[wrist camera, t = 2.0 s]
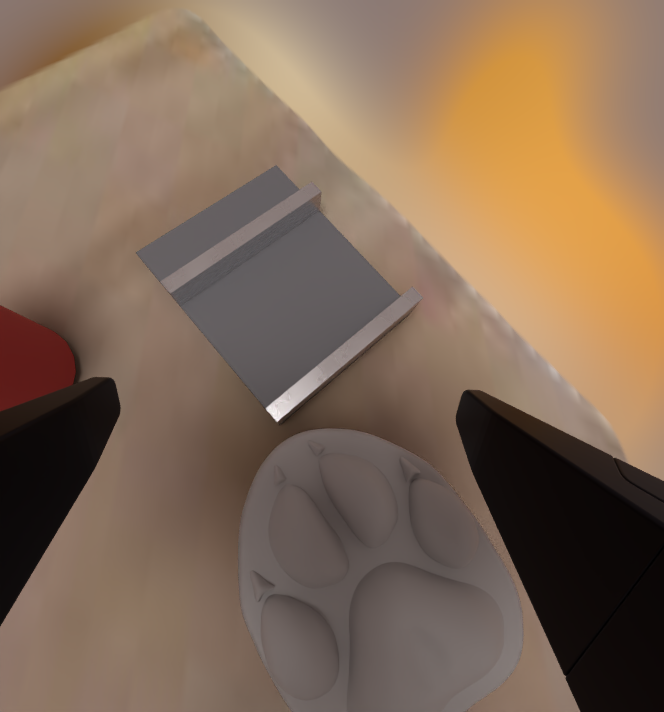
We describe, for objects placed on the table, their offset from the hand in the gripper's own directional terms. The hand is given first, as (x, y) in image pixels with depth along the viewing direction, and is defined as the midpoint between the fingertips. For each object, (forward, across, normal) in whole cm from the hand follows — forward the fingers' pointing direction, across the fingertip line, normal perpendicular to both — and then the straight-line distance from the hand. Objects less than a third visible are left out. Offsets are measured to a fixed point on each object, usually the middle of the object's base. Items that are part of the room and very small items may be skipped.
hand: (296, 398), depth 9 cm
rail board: (+17, +2, +2) cm, 17 cm away
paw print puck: (+7, -3, +14) cm, 16 cm away
